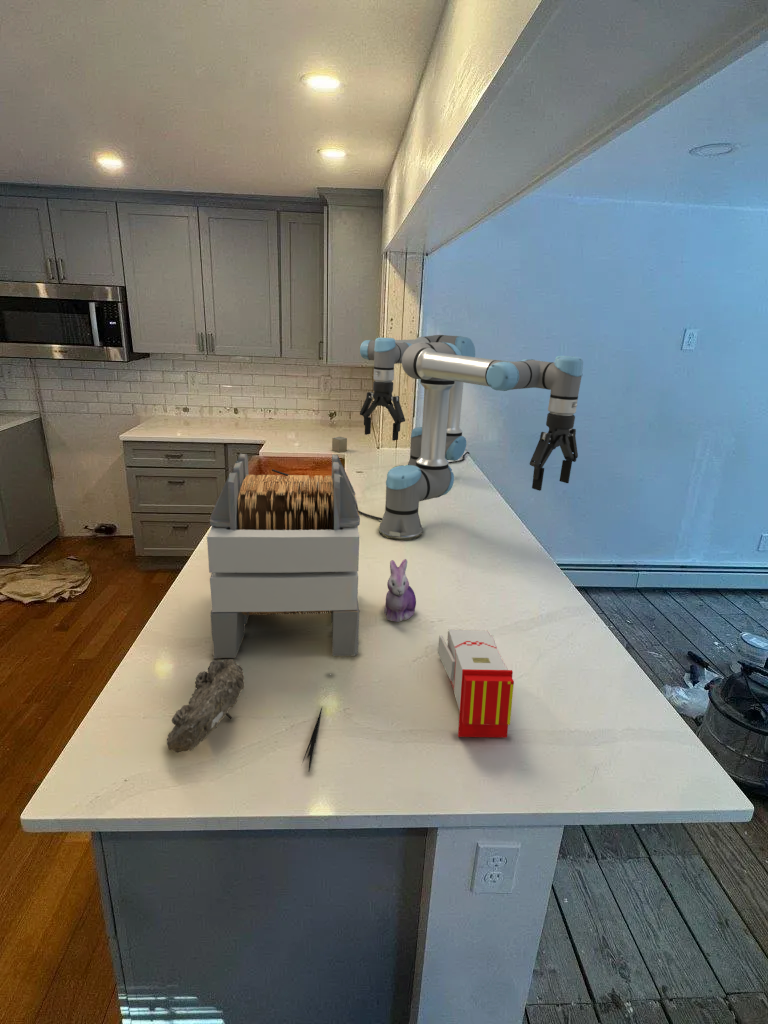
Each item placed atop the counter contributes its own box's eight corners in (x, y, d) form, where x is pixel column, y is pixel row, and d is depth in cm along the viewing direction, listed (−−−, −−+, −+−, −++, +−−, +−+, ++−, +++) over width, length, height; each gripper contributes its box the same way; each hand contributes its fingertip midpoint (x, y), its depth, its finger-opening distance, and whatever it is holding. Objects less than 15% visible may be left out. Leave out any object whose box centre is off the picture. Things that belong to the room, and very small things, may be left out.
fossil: (192, 660, 117) (244, 628, 112) (224, 691, 120) (276, 661, 115) (142, 746, 98) (202, 712, 93) (182, 779, 101) (242, 748, 96)
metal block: (332, 450, 310) (332, 438, 308) (339, 448, 315) (339, 436, 312) (339, 452, 307) (339, 439, 305) (346, 450, 311) (347, 438, 309)
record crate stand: (232, 588, 156) (224, 444, 142) (351, 587, 160) (354, 446, 146) (210, 660, 125) (198, 483, 111) (359, 656, 128) (364, 485, 115)
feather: (331, 679, 122) (336, 673, 122) (307, 777, 96) (313, 769, 95) (324, 675, 122) (329, 669, 121) (298, 772, 95) (304, 764, 95)
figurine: (392, 627, 141) (395, 572, 136) (374, 608, 149) (376, 556, 144) (425, 619, 145) (429, 566, 140) (405, 601, 154) (408, 550, 149)
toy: (488, 613, 130) (523, 677, 101) (484, 667, 133) (517, 744, 104) (435, 612, 130) (455, 676, 101) (432, 666, 133) (451, 743, 103)
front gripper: (546, 419, 149) (535, 496, 156) (597, 412, 164) (585, 482, 171) (523, 414, 154) (513, 489, 161) (575, 408, 169) (564, 476, 177)
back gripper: (351, 378, 216) (350, 433, 223) (404, 385, 201) (401, 444, 209) (364, 376, 221) (362, 430, 228) (416, 384, 207) (413, 441, 214)
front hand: (550, 485), depth 166 cm, fingers open, 13 cm apart
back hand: (381, 437), depth 219 cm, fingers open, 13 cm apart
